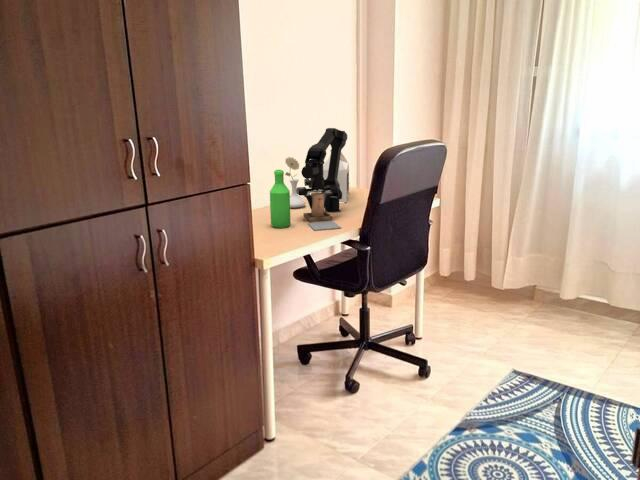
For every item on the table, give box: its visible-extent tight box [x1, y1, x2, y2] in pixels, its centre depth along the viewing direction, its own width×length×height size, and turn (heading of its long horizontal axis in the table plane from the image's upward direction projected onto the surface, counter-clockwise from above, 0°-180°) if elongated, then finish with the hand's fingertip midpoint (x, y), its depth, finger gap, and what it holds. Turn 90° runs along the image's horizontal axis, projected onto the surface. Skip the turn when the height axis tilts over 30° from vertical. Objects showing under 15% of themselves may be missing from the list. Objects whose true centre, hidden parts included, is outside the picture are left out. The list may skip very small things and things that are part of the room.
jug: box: [310, 192, 325, 217], centre depth 261 cm, size 10×6×10 cm, turn 16°
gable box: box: [321, 149, 350, 203], centre depth 300 cm, size 22×13×28 cm, turn 174°
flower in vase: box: [284, 156, 307, 209], centre depth 284 cm, size 13×11×25 cm
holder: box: [303, 210, 334, 223], centre depth 263 cm, size 11×11×2 cm
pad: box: [307, 220, 342, 232], centre depth 250 cm, size 12×12×1 cm
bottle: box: [269, 169, 292, 229], centre depth 248 cm, size 9×9×25 cm
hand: (317, 208), depth 262 cm, fingers closed on jug, 6 cm apart
